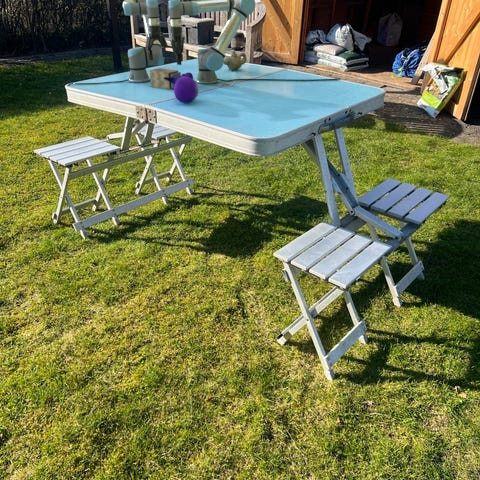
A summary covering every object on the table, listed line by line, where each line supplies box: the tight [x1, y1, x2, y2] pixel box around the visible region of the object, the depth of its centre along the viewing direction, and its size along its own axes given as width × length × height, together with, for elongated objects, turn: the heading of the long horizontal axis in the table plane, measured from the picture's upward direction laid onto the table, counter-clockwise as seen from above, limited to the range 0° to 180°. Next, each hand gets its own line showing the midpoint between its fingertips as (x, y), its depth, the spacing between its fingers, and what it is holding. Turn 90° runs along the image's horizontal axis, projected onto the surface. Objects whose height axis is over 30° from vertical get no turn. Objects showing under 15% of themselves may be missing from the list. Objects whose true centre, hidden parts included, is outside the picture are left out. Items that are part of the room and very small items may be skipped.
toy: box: [164, 72, 199, 104], centre depth 277 cm, size 16×18×27 cm
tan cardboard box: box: [149, 67, 179, 90], centre depth 317 cm, size 18×10×11 cm, turn 56°
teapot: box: [223, 50, 247, 72], centre depth 367 cm, size 21×12×15 cm, turn 120°
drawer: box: [169, 71, 182, 89], centre depth 314 cm, size 22×9×9 cm, turn 56°
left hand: (157, 58), depth 314 cm, fingers open, 13 cm apart
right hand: (179, 64), depth 305 cm, fingers closed
